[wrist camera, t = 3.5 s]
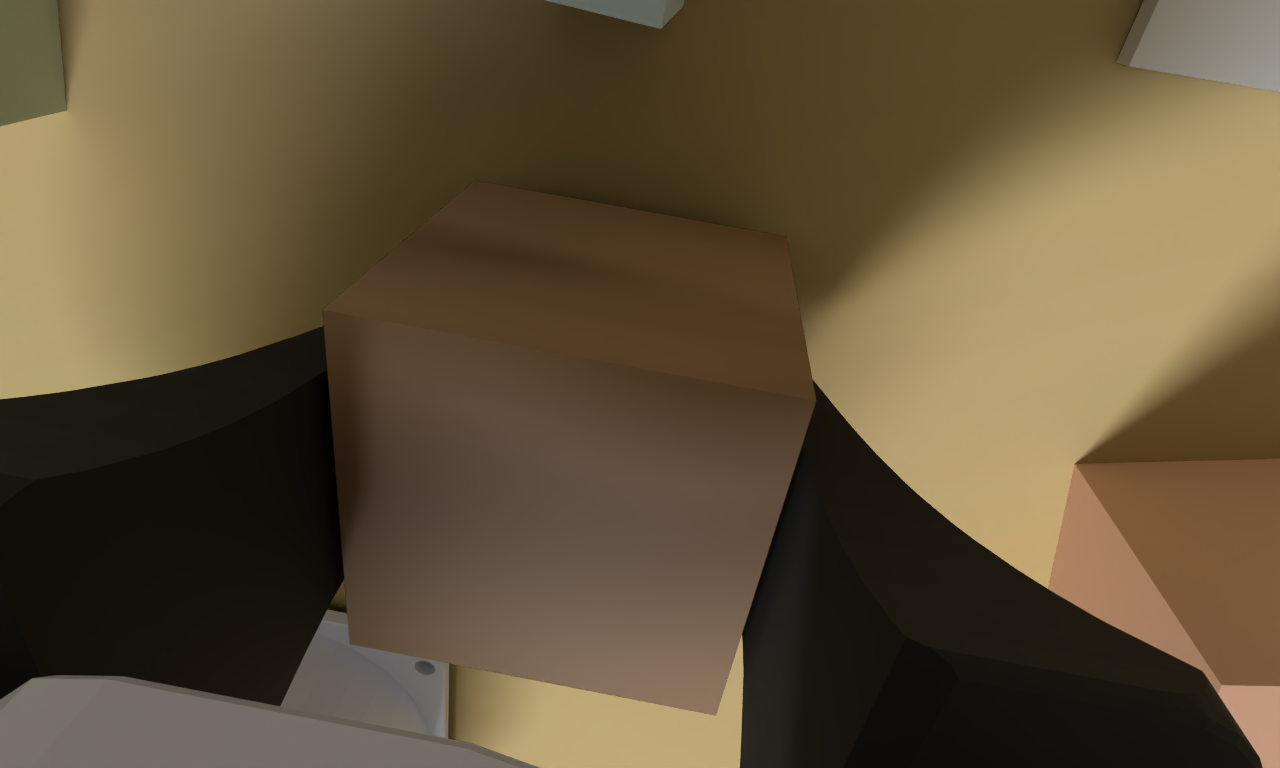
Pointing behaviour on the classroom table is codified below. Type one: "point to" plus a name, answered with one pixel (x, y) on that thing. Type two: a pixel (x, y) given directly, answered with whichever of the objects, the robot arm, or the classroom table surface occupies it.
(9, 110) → the sage cube
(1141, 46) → the grey square frame
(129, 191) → the classroom table surface
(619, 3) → the base block
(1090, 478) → the terracotta cube
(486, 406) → the walnut cube
